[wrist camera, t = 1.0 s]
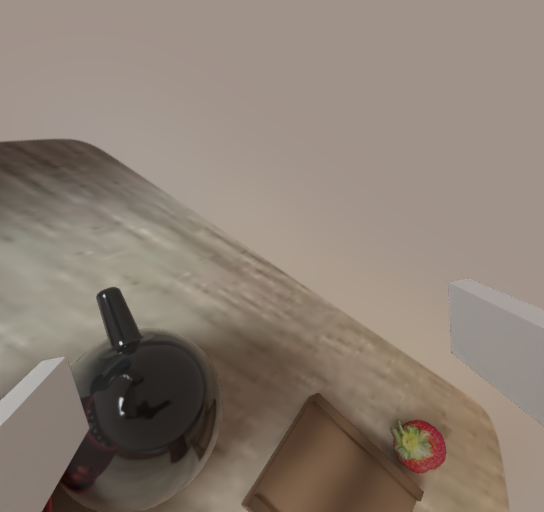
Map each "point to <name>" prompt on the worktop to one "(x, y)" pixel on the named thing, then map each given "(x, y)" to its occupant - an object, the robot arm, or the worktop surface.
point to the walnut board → (329, 470)
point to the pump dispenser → (141, 414)
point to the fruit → (419, 446)
